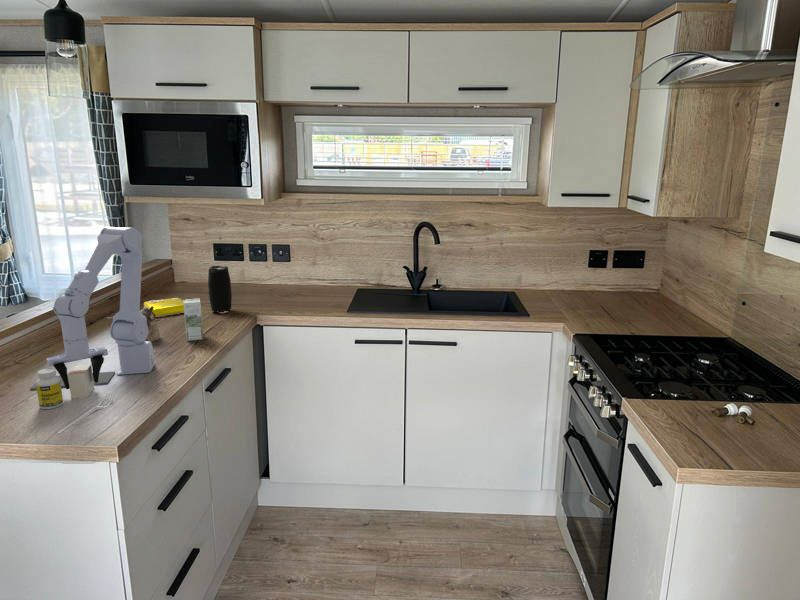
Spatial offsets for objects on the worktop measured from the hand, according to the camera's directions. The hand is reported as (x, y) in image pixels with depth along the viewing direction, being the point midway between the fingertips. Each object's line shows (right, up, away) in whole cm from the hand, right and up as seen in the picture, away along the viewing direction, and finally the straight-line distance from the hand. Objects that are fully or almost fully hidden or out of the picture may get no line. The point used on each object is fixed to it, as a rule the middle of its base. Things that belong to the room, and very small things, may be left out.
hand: (81, 384), depth 157 cm
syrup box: (+14, +9, +49) cm, 52 cm away
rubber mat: (-7, 0, +9) cm, 11 cm away
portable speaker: (+12, +18, +85) cm, 88 cm away
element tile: (-12, +18, +86) cm, 88 cm away
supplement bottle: (-4, -5, -7) cm, 10 cm away
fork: (+9, -6, -13) cm, 17 cm away
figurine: (-2, +9, +48) cm, 49 cm away
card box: (0, -2, +1) cm, 2 cm away
